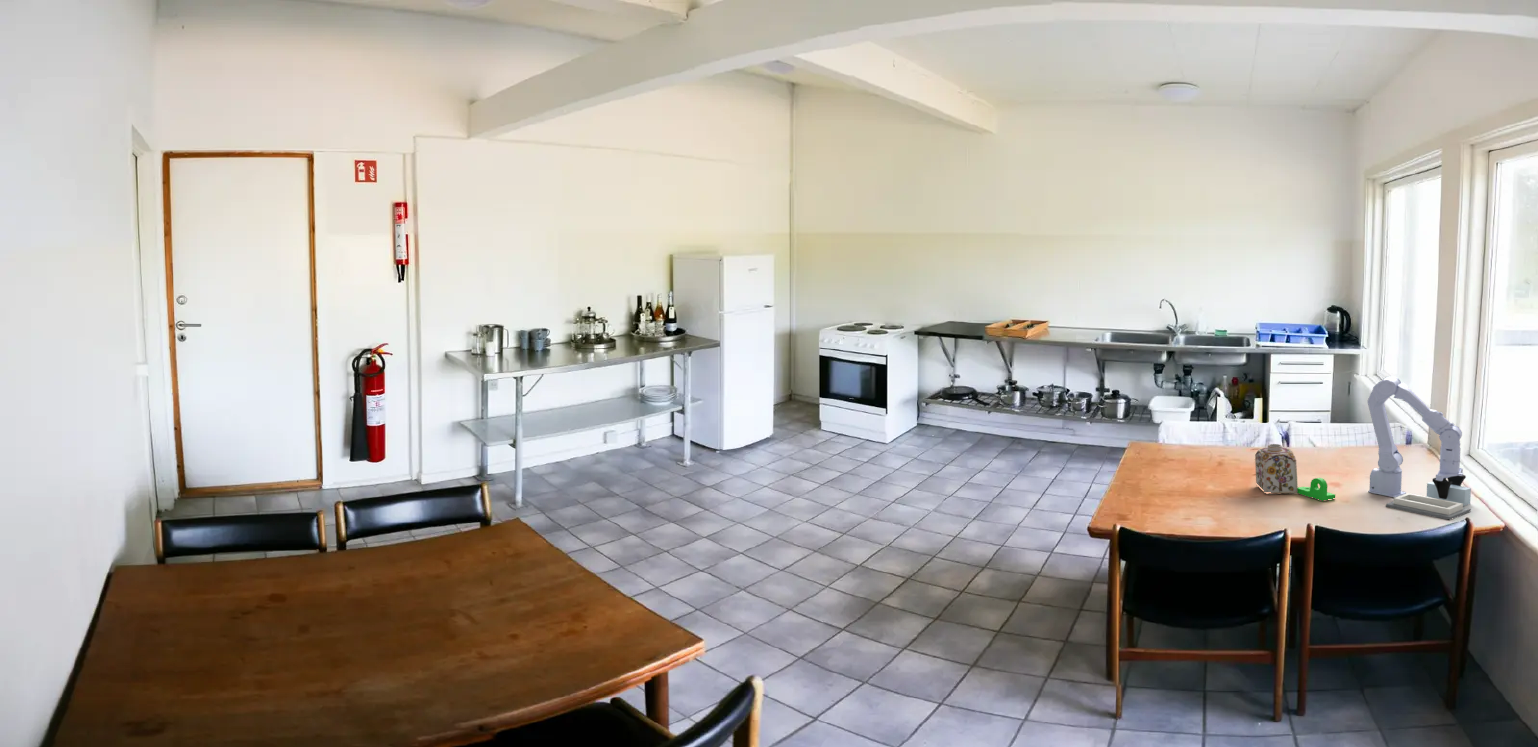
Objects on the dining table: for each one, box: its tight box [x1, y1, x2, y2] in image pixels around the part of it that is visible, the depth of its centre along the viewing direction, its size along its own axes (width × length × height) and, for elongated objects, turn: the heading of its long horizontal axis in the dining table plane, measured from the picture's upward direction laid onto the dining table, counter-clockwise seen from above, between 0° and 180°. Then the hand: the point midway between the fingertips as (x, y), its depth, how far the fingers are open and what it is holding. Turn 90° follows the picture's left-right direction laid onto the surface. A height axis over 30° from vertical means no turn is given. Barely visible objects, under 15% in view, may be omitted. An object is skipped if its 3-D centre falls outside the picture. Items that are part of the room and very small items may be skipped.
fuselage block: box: [1426, 481, 1472, 507], centre depth 321 cm, size 12×4×6 cm, turn 28°
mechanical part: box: [1297, 477, 1336, 502], centre depth 335 cm, size 12×6×8 cm, turn 15°
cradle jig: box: [1385, 492, 1472, 520], centre depth 314 cm, size 20×14×3 cm
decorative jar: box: [1254, 443, 1299, 494], centre depth 345 cm, size 12×12×18 cm
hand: (1448, 496), depth 321 cm, fingers open, 7 cm apart
